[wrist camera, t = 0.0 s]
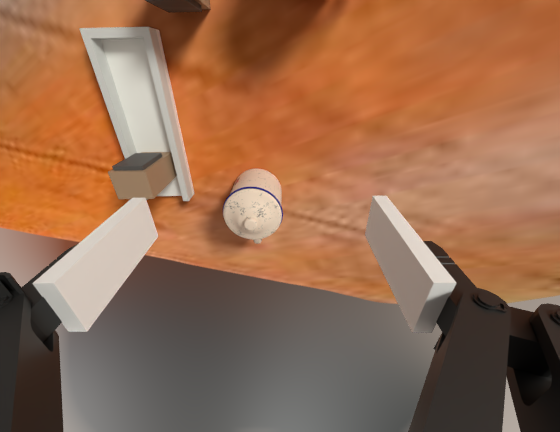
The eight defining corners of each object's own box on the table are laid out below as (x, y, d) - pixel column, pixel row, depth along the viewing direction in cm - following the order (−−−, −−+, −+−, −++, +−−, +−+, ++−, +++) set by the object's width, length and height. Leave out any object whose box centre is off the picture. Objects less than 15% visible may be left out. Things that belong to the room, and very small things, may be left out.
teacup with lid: (229, 167, 42) (212, 197, 32) (282, 165, 42) (281, 196, 32) (237, 225, 48) (226, 266, 38) (283, 224, 48) (283, 265, 38)
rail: (95, 31, 33) (28, 18, 24) (159, 30, 33) (114, 16, 24) (147, 193, 45) (116, 223, 37) (194, 193, 45) (173, 222, 36)
